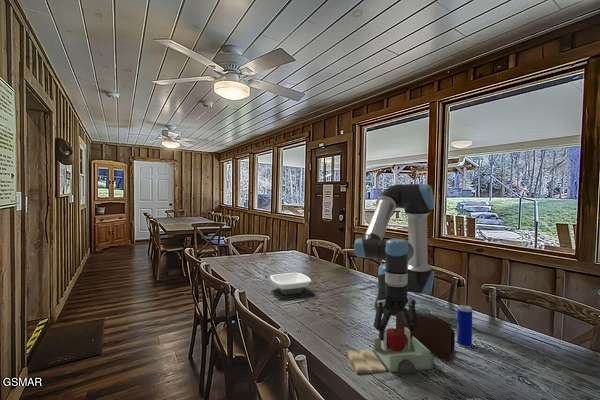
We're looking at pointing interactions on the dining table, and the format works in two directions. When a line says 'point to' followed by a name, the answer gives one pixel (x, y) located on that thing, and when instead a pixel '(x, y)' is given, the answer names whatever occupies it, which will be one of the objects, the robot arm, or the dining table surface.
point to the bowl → (290, 282)
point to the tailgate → (366, 361)
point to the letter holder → (432, 335)
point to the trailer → (405, 357)
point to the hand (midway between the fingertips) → (395, 348)
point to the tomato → (396, 339)
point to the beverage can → (464, 325)
